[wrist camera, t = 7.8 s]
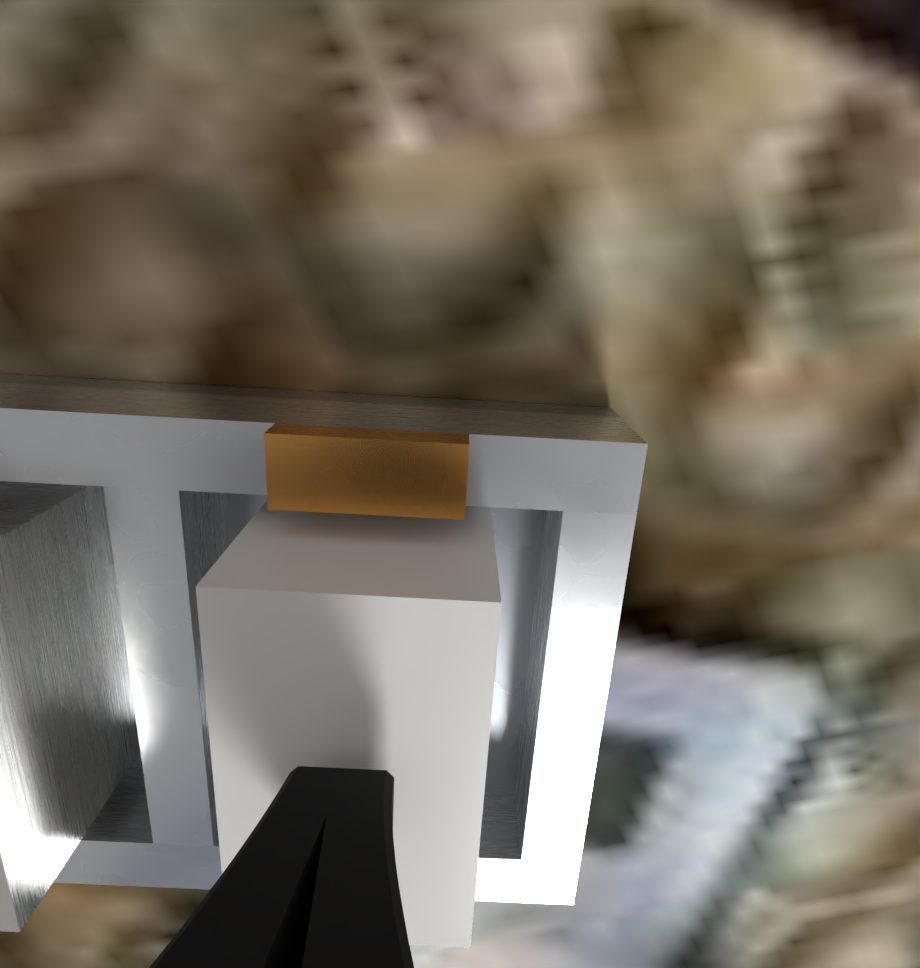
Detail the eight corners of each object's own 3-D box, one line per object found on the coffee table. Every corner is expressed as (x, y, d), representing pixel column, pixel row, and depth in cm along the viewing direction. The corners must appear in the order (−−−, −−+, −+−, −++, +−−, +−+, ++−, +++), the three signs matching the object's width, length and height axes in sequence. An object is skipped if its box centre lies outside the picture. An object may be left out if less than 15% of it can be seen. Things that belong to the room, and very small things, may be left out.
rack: (556, 804, 16) (594, 1025, 11) (-98, 773, 15) (-334, 988, 11) (610, 407, 12) (698, 492, 8) (-223, 361, 12) (-636, 420, 7)
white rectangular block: (467, 765, 14) (470, 947, 10) (290, 757, 14) (227, 937, 10) (489, 496, 12) (501, 602, 8) (279, 484, 12) (195, 586, 8)
